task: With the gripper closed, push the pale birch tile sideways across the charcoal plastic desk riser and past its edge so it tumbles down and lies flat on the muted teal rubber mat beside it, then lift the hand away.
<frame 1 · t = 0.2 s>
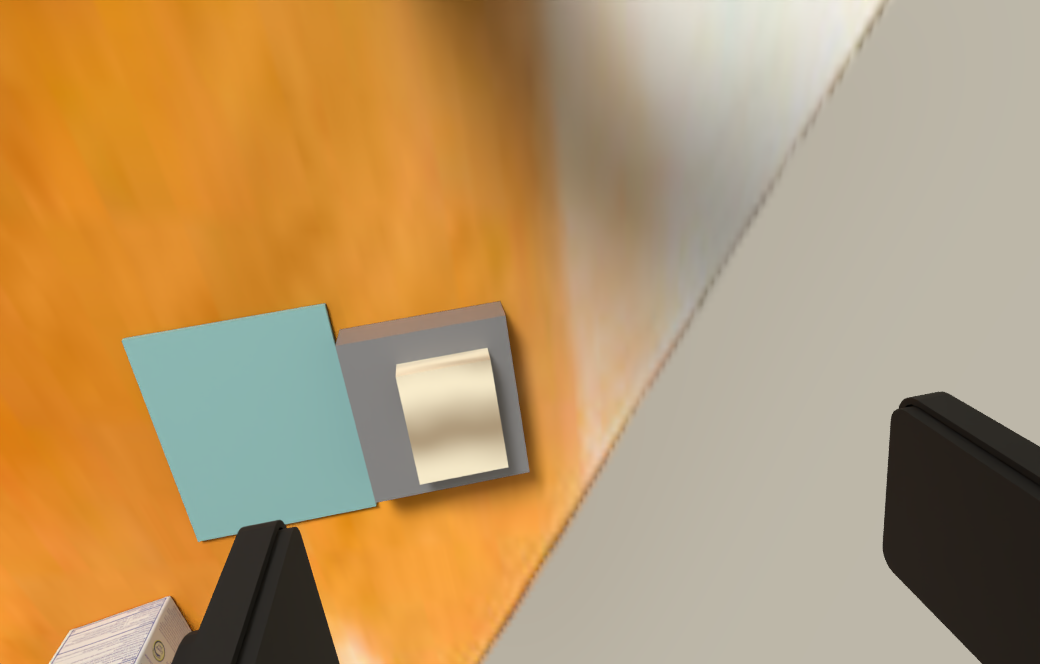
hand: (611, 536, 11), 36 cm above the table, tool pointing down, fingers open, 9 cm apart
birch tile: (452, 409, 46), point 3 cm above the table, touching deck
medicine box: (135, 628, 53), on the table
deck: (436, 393, 49), on the table
mat: (259, 426, 48), on the table
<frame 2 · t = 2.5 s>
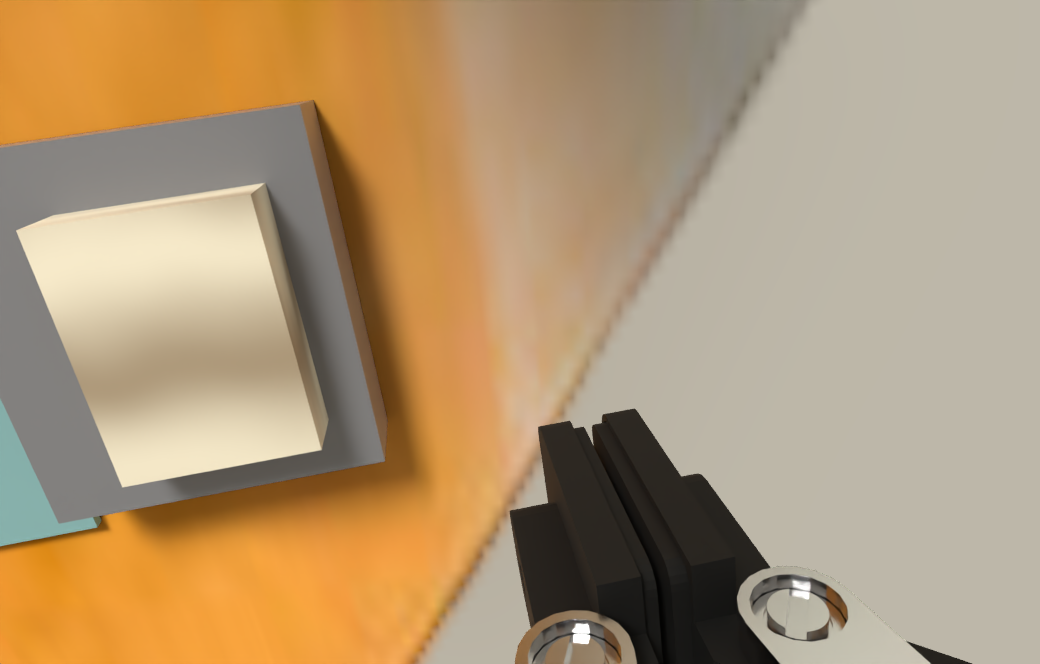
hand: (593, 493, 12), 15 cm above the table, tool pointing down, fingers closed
birch tile: (202, 325, 21), point 3 cm above the table, touching deck
deck: (197, 301, 24), on the table
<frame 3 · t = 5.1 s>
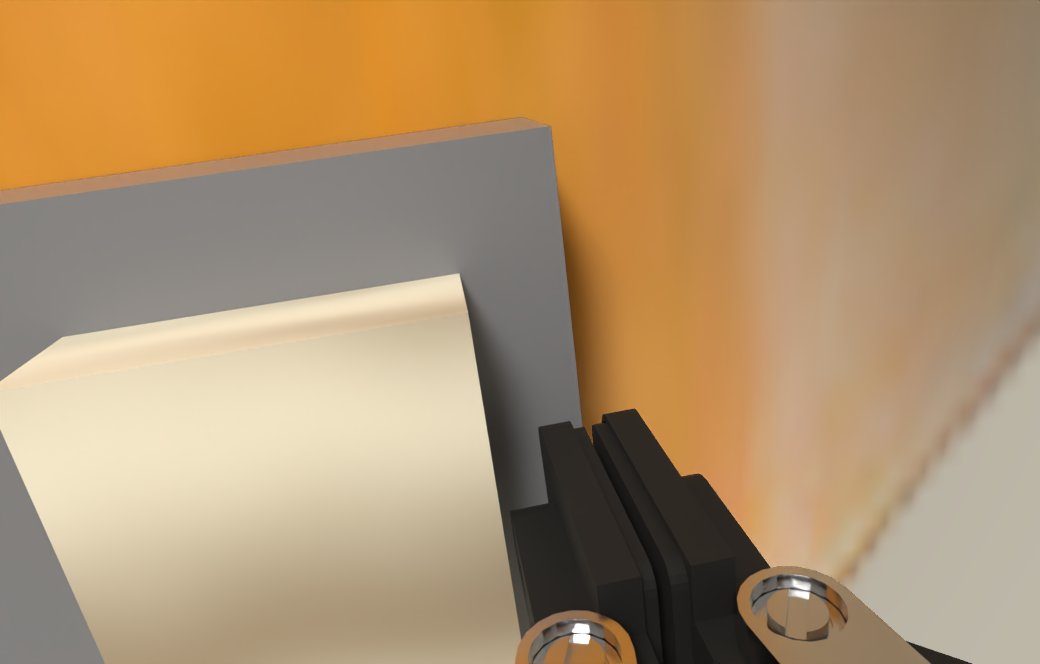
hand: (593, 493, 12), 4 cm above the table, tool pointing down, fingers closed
birch tile: (324, 520, 12), point 3 cm above the table, touching gripper
deck: (304, 444, 15), on the table
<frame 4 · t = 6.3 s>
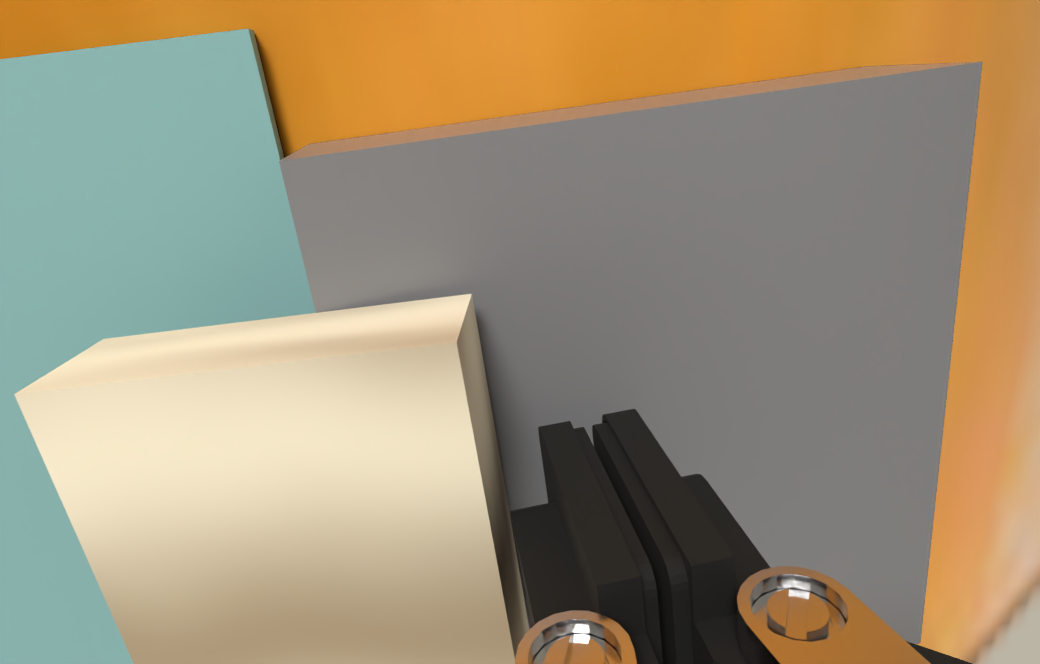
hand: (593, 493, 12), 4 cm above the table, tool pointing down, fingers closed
birch tile: (341, 527, 12), point 3 cm above the table, tilted 10°, touching deck
deck: (620, 384, 15), on the table
mat: (35, 488, 14), on the table
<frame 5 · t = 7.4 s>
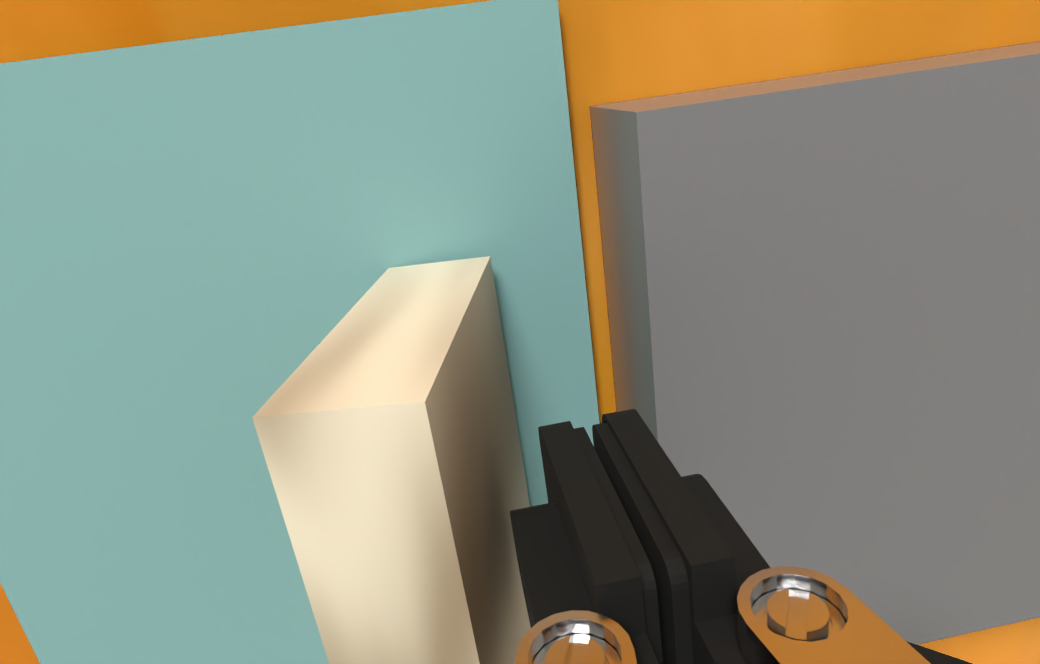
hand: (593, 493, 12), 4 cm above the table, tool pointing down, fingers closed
birch tile: (505, 529, 12), point 4 cm above the table, tilted 103°, touching mat
deck: (847, 345, 16), on the table
mat: (297, 444, 15), on the table
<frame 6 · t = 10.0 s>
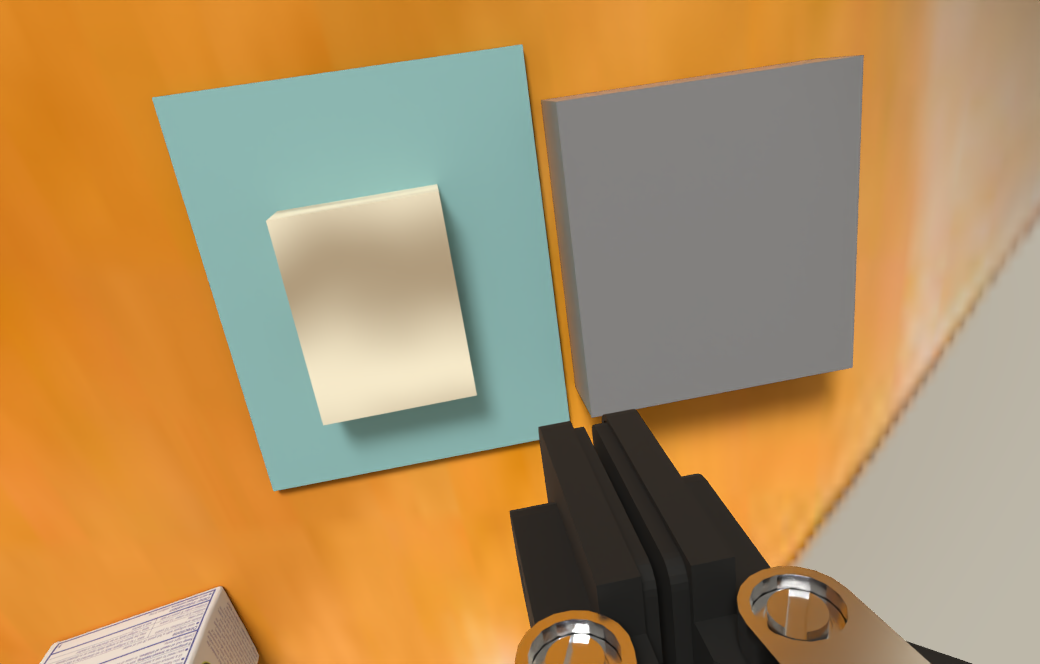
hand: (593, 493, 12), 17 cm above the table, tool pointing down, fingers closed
birch tile: (378, 313, 25), point 2 cm above the table, tilted 180°, touching mat
medicine box: (162, 641, 32), on the table
deck: (689, 232, 28), on the table
mat: (388, 283, 27), on the table
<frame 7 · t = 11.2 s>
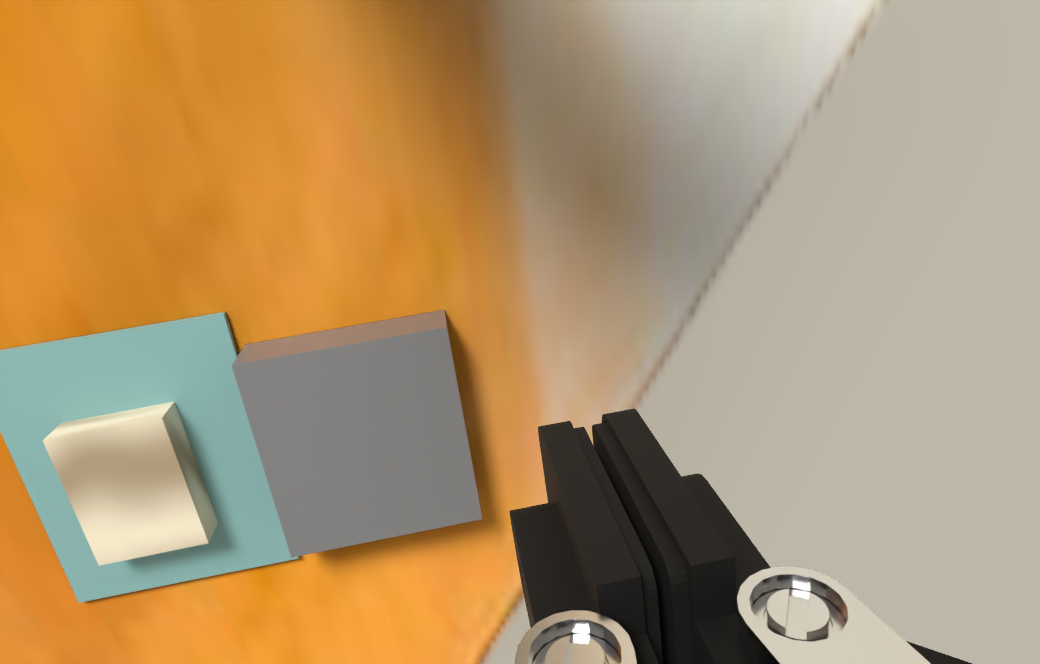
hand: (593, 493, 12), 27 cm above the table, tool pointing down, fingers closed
birch tile: (129, 494, 37), point 2 cm above the table, tilted 180°, touching mat
deck: (369, 422, 40), on the table
mat: (149, 463, 39), on the table
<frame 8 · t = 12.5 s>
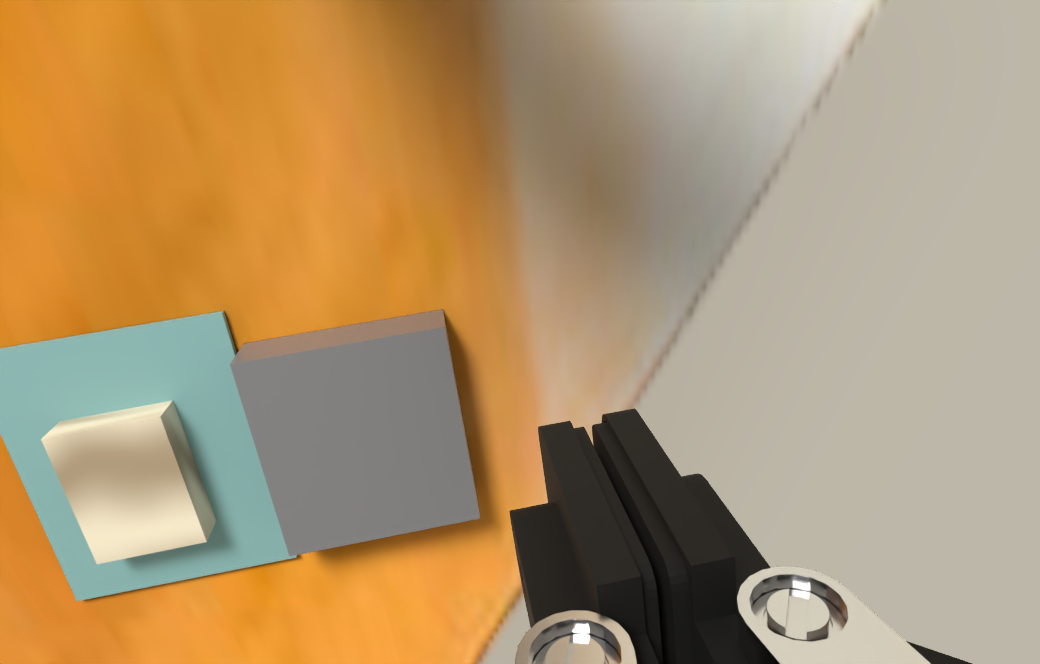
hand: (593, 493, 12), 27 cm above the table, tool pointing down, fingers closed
birch tile: (127, 492, 37), point 2 cm above the table, tilted 180°, touching mat
deck: (367, 421, 40), on the table
mat: (147, 462, 39), on the table
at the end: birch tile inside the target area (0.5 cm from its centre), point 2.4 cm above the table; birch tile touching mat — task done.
